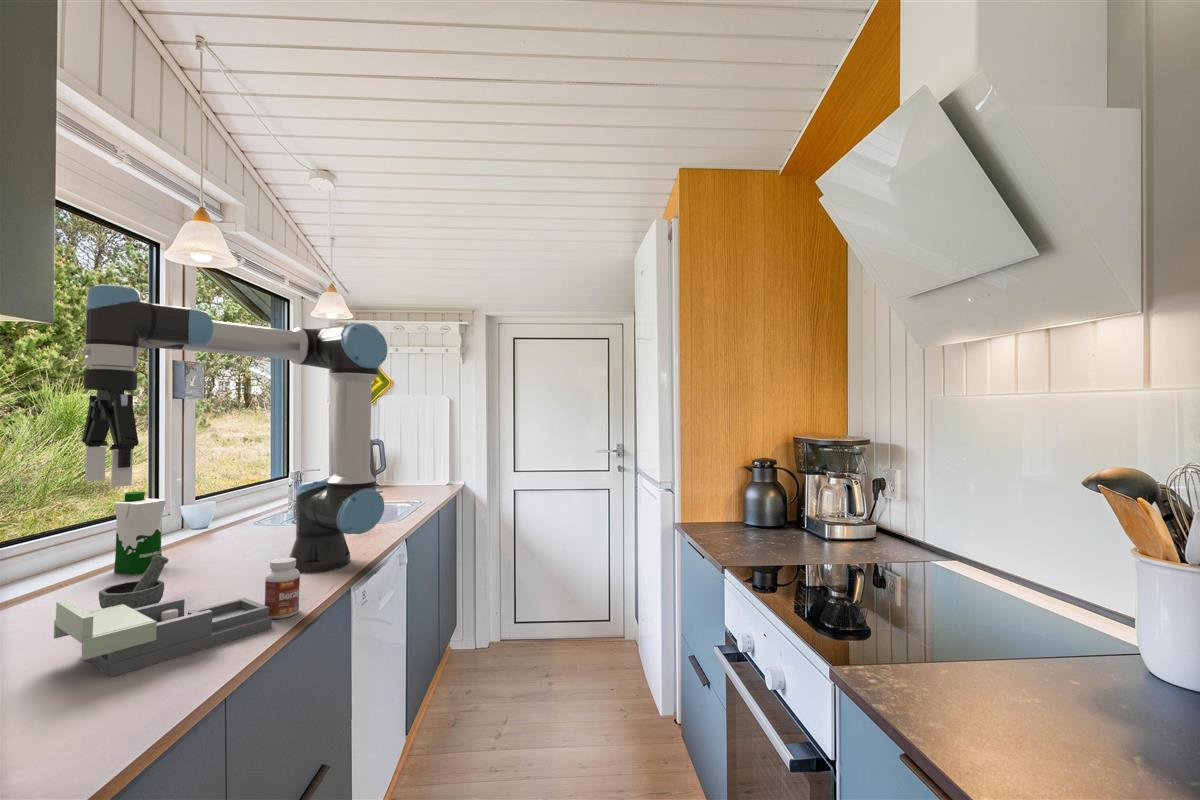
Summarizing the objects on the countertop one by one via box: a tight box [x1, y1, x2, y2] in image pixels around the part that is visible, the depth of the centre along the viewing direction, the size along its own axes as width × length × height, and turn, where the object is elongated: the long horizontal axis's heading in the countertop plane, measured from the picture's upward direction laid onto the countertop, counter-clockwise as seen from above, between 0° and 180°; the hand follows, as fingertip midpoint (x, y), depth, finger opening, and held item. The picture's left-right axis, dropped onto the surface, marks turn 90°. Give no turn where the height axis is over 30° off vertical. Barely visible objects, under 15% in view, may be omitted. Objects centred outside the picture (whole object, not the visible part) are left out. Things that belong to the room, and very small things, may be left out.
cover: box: [53, 599, 157, 661], centre depth 91 cm, size 9×15×6 cm, turn 57°
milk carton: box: [113, 491, 167, 575], centre depth 145 cm, size 9×9×20 cm
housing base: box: [81, 597, 273, 678], centre depth 101 cm, size 24×14×6 cm, turn 147°
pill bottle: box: [264, 557, 301, 620], centre depth 114 cm, size 6×6×11 cm
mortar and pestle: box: [98, 555, 170, 609], centre depth 110 cm, size 11×9×12 cm
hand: (107, 483), depth 103 cm, fingers open, 13 cm apart
